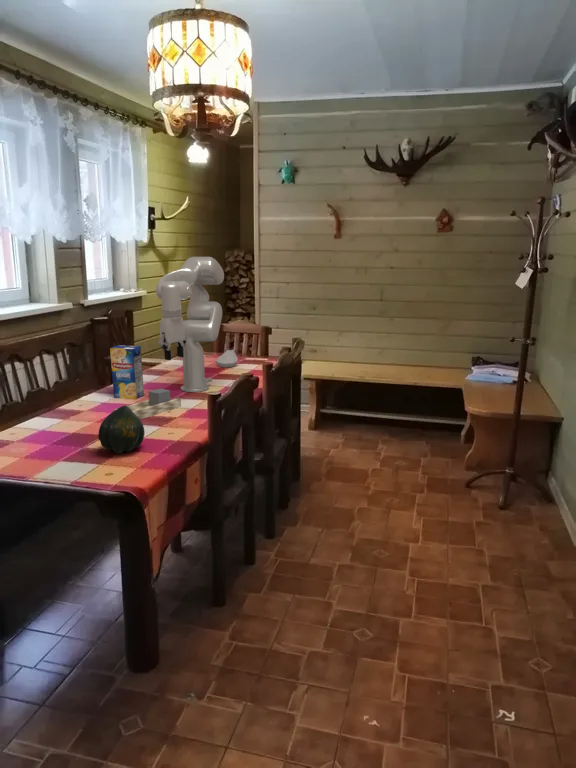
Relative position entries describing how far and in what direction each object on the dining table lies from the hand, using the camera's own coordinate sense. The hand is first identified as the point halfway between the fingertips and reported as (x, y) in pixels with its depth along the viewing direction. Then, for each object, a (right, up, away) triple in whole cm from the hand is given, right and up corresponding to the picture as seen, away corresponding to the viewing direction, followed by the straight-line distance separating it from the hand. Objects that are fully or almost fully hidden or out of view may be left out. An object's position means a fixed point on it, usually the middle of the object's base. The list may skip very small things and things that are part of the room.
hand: (174, 357), depth 247 cm
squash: (-8, -32, -48) cm, 58 cm away
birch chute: (-9, -22, -7) cm, 25 cm away
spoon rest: (+14, 0, +81) cm, 83 cm away
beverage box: (-23, -16, +17) cm, 33 cm away
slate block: (-5, -19, -3) cm, 20 cm away
